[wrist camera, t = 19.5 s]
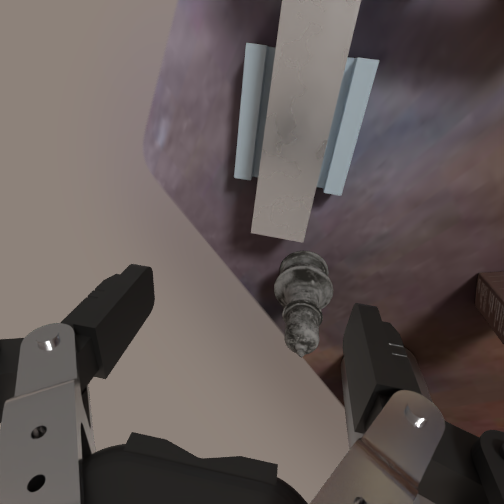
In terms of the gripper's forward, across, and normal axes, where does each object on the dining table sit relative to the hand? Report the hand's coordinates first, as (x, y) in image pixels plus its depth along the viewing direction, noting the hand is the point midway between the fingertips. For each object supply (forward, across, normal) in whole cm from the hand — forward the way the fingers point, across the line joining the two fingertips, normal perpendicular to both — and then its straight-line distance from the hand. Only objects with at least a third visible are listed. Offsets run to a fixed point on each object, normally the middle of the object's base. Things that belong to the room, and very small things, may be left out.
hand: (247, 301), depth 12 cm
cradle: (+19, -1, -5) cm, 20 cm away
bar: (+16, -1, -5) cm, 17 cm away
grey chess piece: (+20, -4, +10) cm, 23 cm away
